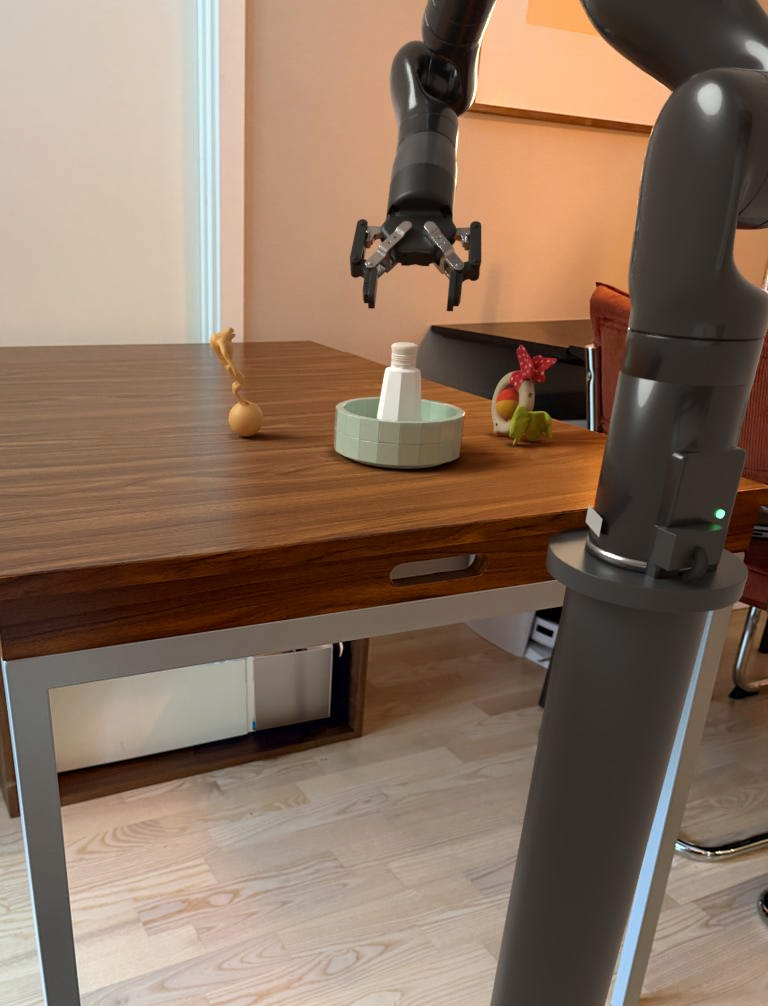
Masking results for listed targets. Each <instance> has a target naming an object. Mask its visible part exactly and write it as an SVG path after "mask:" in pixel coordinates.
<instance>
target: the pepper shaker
mask: <svg viewBox="0 0 768 1006" xmlns="http://www.w3.org/2000/svg"><path fill="white" fill-rule="evenodd" d="M390 348H391V356H390V357H391V358H390V359H391V361H390V366H388V367H386V368H385V370H384V373H383V379H382V385H381V390H380V396H379V397H380V401H379V407H378V413H377V419H384V420H396V421H421V399H422V373H421V370H420V369H419V368H418V367H416V365H417V360H418V359H417V358H418V357H417V356H418V350H419V345H418V344H416V343H414V342H407V341H406V342H405V341H398V342H394V343H392V344H391V346H390Z"/></svg>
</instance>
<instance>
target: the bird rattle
mask: <svg viewBox="0 0 768 1006" xmlns="http://www.w3.org/2000/svg"><path fill="white" fill-rule="evenodd" d="M516 356H517V360H518V364H519V367H520V369H518V370H515V371H510V372H508V373H507V374H505V375H504V376H503V377H502V378H501V379H500V380H499V382H498V383H497V385H496V387H495V389H494V392H493V395H492V400H491V419H492V424H493V428H492V429H493V432H492V433H493V435H494V436H495V435H496V436H503V435H508V436H509V438H510V439H514V440H513V441H512V445H513V446H517V444H519V442H520V440H521V439H522V438H523V436H524V435H525V437H526V439H527V440H529V441H530V442H537V441H538V440H540V439H541V437H542V436H543V434H544V435H545V438H546V439H548V440H551V439H553V431H552V425H553V420H552V417H551V416H550V414H549V413H548V412H546V411H543V410H542V411H541V410H540V411H534V407H535V399H536V397H535V396H536V392H535V385H536V383H535V381H536V382H538V383H544V382H545V381H546V374H545V371H546V370H548V369H549V368H551V367H552V366H553V365H555V364H556V363H557V361H558V358H554V357H543V356H542V355H541V354H538V355H535V356H533V358H531V356H530V354H529V352H528V351H527V349H526V347H525V346H524V345H523V344H520V345H518V347H517V349H516Z"/></svg>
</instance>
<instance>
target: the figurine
mask: <svg viewBox="0 0 768 1006" xmlns="http://www.w3.org/2000/svg"><path fill="white" fill-rule="evenodd" d="M235 337H236V333H235V329H234V328H232V326H231V327H227V328H226V329H224V331H220V332H215V333H213V334H212V335H211V336H210V338H209V345H210V347H211V349H212V351H213V353H214V354H215V356H216V357H217V359H218V360H219V363H220V364H221V366H222V367H223V369H225V370H226V372H227V373H228V375H229V376H230V377H231V378H232V379H234V380H235V381H234V382H233V383H232V384H231V388H232V390H231V391H232V394H233V396H234V398H235V399H236V400H237V403H236V404H234V405H233V406H232V408H231V409H230V411H229V414H228V423H229V426H230V428H231V430H232V431H233V432H234V434H236V435H238V436H239V437H244V438H246V437H252V436H254V435H256V434H258V433H259V431H260V430H261V428H262V427H263V423H264V414H263V412H262V409H261V408H260V407H259V406H258V405H257V404H256V403H254V402H252V401H248V399H246V398H244V397H242V396H241V394H240V393H238V392H240V390H241V389H242V387H243V386H244V385H245V383H246V377H245V376H244V374H243V373H242V372H241V371H240V370H239V368H238V367H237V366H235V365H234V364H235V362H234V361H233V354H234V344H233V341H232V340H233V339H234V338H235Z"/></svg>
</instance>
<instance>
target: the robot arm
mask: <svg viewBox="0 0 768 1006" xmlns="http://www.w3.org/2000/svg"><path fill="white" fill-rule="evenodd" d="M578 1H579V4H580V5H581V8H582V9H583V11H584V13H585V15H586V17H587V19H588V21H589V23H590V24H591V26H592V27H593V29H594V30H595V31H596V33H598V35H599V36H600V37H601V38H602V40H603V41H604V42H605V43H607V44H608V46H610V47H611V48H612V49H613V50H614V51H616V53H618V54H619V55H620V56H621V57H623V58H624V59H625V60H627V61H628V62H630V63H631V64H632V65H634V66H635V67H636V68H638V69H639V70H640V71H642V72H643V73H644V74H646V75H647V76H648V77H650V78H651V79H653V81H656V82H657V83H658V84H660V85H661V86H663V87H664V88H665V89H667V90H668V91H670V92H671V93H670V94H669V96H668V97H667V99H666V100H665V102H664V104H663V105H662V107H661V109H660V111H659V113H658V115H657V117H656V119H655V122H654V124H653V127H652V129H651V133H650V136H649V138H648V142H647V145H646V149H645V153H644V159H643V164H642V167H641V168H642V169H641V175H640V182H639V188H638V195H637V205H636V212H635V218H634V219H635V220H634V228H633V235H632V242H631V250H630V257H629V264H628V270H627V271H628V273H627V286H628V295H629V304H630V311H629V318H628V324H627V329H626V335H625V340H624V341H625V342H624V346H623V351H622V356H621V361H620V367H619V371H618V376H617V382H616V386H615V387H616V388H615V393H614V398H613V404H612V409H611V413H610V419H609V423H608V425H609V426H608V429H607V435H606V439H605V445H604V449H603V450H604V451H603V456H602V460H601V466H600V471H599V477H598V481H597V485H596V486H597V487H596V492H595V496H594V503H593V507H592V506H591V505H590V504H588V507H587V512H586V517H585V524H587V526H590V529H589V533H588V534H587V539H586V544H585V549H586V551H587V552H588V553H589V554H590V555H591V556H592V557H594V558H595V559H597V560H599V561H601V562H603V563H606V564H608V565H611V566H614V567H617V568H620V569H624V570H628V571H633V572H637V573H642V574H645V575H648V576H650V577H652V578H654V579H662V578H669V577H676V576H682V578H683V580H684V581H685V582H688V583H690V582H692V581H694V580H696V579H698V578H700V577H701V576H703V575H704V574H705V572H711V571H716V570H717V567H718V564H719V563H720V559H721V555H722V552H723V549H725V543H726V540H727V536H728V534H729V533H728V532H729V525H730V521H731V517H732V513H733V509H734V506H735V503H736V498H737V494H738V491H739V487H740V483H741V479H742V476H743V471H744V469H745V468H744V467H745V464H746V460H747V456H748V453H747V450H746V449H744V448H742V447H739V446H738V443H739V440H740V435H741V432H742V428H743V424H744V420H745V416H746V413H747V409H748V406H749V401H750V398H751V397H750V396H751V394H752V390H753V385H754V381H755V378H756V373H757V370H758V366H759V363H760V359H761V354H762V350H763V347H764V342H765V337H766V336H767V332H768V292H767V291H765V290H764V289H762V288H760V287H759V286H756V285H755V284H753V283H752V282H751V281H749V279H747V278H746V277H745V276H744V275H743V274H742V272H741V271H740V270H739V268H738V266H737V264H736V261H735V254H734V253H735V240H736V234H737V230H739V231H740V230H741V231H747V230H748V231H749V230H750V231H751V230H752V231H753V230H754V231H755V230H756V231H758V230H765V229H768V13H767V11H766V10H765V9H764V8H763V6H762V5H761V4H760V2H759V0H578ZM497 2H498V0H427V2H426V5H425V8H424V12H423V15H422V20H421V26H420V33H421V38H422V40H410V41H408V42H406V43H404V44H403V45H402V46H401V47H400V48H399V49H398V50H397V52H396V54H395V55H394V57H393V59H392V62H391V65H390V70H389V94H390V100H391V105H392V108H393V113H394V116H395V119H396V124H397V140H396V148H395V149H396V151H395V157H394V160H393V163H392V167H391V173H390V182H389V191H388V199H387V207H386V216H385V219H384V222H383V223H382V224H381V226H380V225H379V226H378V225H377V226H376V225H369V223H368V220H366V219H365V218H361V219H358V220H357V222H356V226H355V232H354V235H353V241H352V245H351V250H350V255H349V266H350V276H351V277H352V278H355V279H357V278H359V277H360V278H362V279H363V285H362V301H363V304H367V308H368V309H371V310H373V309H376V301H377V293H378V285H379V279H380V277H382V276H383V275H384V274H385V273H386V274H388V273H389V272H391V271H392V270H393V269H394V268H395V267H396V266H397V265H398V264H400V266H401V267H403V266H404V267H410V266H420V267H430V265H431V264H432V265H433V266H434V267H435V268H436V270H438V272H439V273H440V274H441V275H445V277H446V278H447V279H448V291H447V303H446V312H454V307H459V306H460V304H461V302H462V301H461V299H462V288H463V283H464V282H465V281H467V280H469V281H471V282H476V281H478V280H479V279H480V272H481V271H480V270H481V266H482V223H481V222H480V221H477V220H474V221H472V222H470V224H469V227H457V226H456V224H455V223H454V215H455V205H456V193H457V188H458V184H457V183H458V182H457V181H458V162H457V156H458V145H459V144H458V143H459V134H460V133H459V132H460V124H459V122H460V121H459V117H461V116H463V115H464V114H466V112H468V111H469V109H470V108H471V106H472V105H473V103H474V101H475V98H476V94H477V92H478V91H477V90H478V86H479V85H478V83H479V74H480V73H479V69H480V68H479V67H480V52H481V46H482V42H483V39H484V35H485V32H486V30H487V28H488V25H489V22H490V20H491V17H492V15H493V13H494V10H495V7H496V4H497ZM376 240H379V241H380V244H379V246H378V247H377V250H376V251H375V252H374V253H373V254H372V255H371V256H369V257H368V258H367V259H365V257H366V254H367V249H371V247H372V246H373V245H374V242H375V241H376ZM456 241H457V242H459V243H460V244H461V247H462V248H463V249H464V251H467V261H463V260H462V259H461V258H460V256H459V255H458V254H457V253H456V252H455V248H454V244H455V243H456Z"/></svg>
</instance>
